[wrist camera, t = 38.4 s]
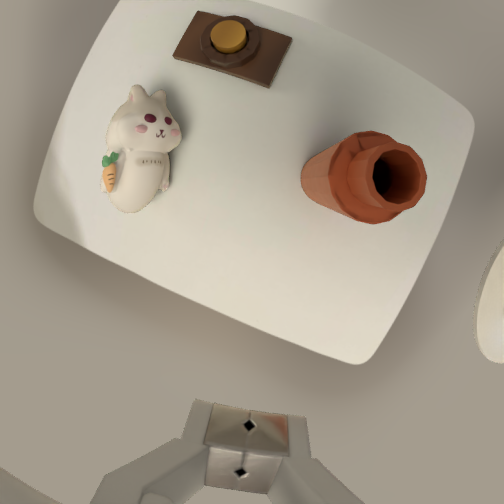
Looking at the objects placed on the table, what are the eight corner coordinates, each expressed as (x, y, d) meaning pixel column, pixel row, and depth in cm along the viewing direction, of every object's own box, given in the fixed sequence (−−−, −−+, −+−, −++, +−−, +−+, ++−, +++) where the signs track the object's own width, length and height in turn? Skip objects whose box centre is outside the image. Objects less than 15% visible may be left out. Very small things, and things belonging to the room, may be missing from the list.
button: (252, 31, 30) (251, 25, 28) (238, 57, 31) (237, 51, 29) (221, 23, 30) (219, 16, 28) (207, 48, 31) (204, 42, 29)
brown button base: (291, 41, 32) (293, 31, 29) (269, 88, 34) (268, 81, 31) (199, 14, 32) (194, 4, 29) (174, 59, 34) (167, 50, 31)
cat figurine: (107, 228, 29) (130, 77, 24) (77, 207, 33) (94, 82, 28) (176, 219, 37) (200, 94, 32) (139, 201, 41) (158, 93, 36)
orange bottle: (353, 160, 35) (449, 139, 14) (344, 208, 37) (432, 243, 15) (305, 149, 35) (352, 107, 14) (296, 199, 37) (333, 221, 15)
